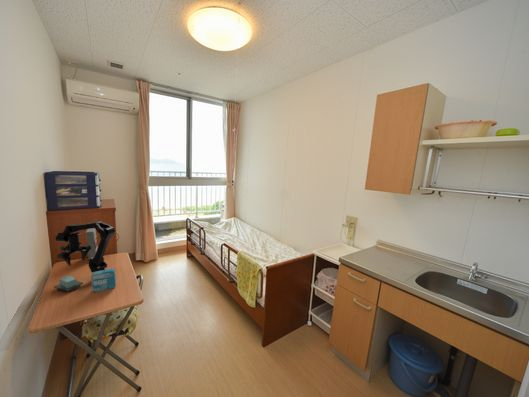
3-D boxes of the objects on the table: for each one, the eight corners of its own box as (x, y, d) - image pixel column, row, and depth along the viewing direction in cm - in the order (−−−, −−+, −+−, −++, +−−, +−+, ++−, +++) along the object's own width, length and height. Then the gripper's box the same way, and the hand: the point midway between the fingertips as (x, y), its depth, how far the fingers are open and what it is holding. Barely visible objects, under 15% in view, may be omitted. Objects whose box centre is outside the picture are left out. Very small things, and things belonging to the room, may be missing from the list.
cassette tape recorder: (97, 259, 187) (94, 231, 183) (88, 260, 184) (85, 232, 180) (99, 253, 199) (96, 227, 195) (90, 255, 195) (87, 228, 192)
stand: (83, 286, 145) (82, 282, 144) (67, 293, 136) (67, 289, 136) (70, 282, 149) (69, 279, 148) (54, 289, 140) (53, 286, 140)
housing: (69, 280, 147) (68, 275, 146) (77, 284, 142) (76, 278, 142) (60, 284, 142) (59, 278, 142) (67, 288, 138) (66, 282, 137)
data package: (92, 292, 137) (90, 275, 135) (94, 289, 141) (92, 272, 139) (115, 287, 143) (114, 270, 141) (116, 284, 147) (114, 267, 145)
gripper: (79, 236, 163) (81, 256, 165) (49, 245, 145) (52, 267, 148) (90, 238, 161) (92, 258, 163) (62, 246, 143) (64, 269, 145)
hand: (76, 262), depth 155 cm, fingers open, 9 cm apart
